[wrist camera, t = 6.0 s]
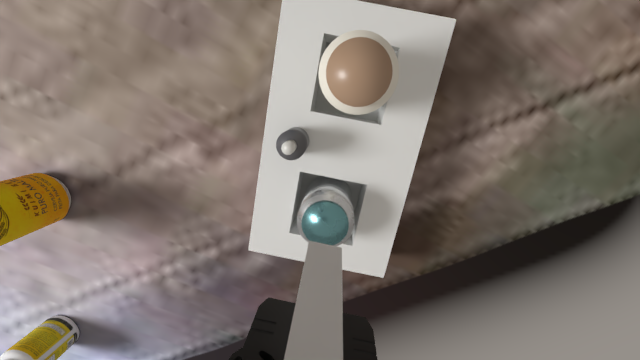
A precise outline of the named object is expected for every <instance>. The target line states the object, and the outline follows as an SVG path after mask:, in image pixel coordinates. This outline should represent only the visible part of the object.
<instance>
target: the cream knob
mask: <svg viewBox="0 0 640 360" xmlns="http://www.w3.org/2000/svg"><path fill="white" fill-rule="evenodd" d="M398 78H399V63H398V59H397V56H396V53H395V51H394V49H393V48H392V46H391V45H390V44H389V43H388V41H387V40H385V39H384V38H383V37H382V36H380V35H378V34H376V33H374V32H371V31H367V30H354V31H350V32H346V33H344V34H342V35H340V36H339V37H337V38H336V39H335V40H333V41H332V42H331V43H330V45H329V46H328V47H327V48H326V50H325V52H324V53H323V55H322V58H321V61H320V65H319V83H320V87H321V90H322V92H323V94H324V96H325V98H326V99H327V100H328V102H329V103H330V104H331V105H332V106H334V107H335V108H336V109H338V110H340V111H342V112H344V113H348V114H353V115H361V114H367V113H370V112H373V111H375V110H377V109H378V108H380V107H381V106H383V105H384V104H385V103H386V102H387V101H388V100H389V98H390V97H391V96H392V94H393V93H394V91H395V88H396V86H397V83H398Z"/></svg>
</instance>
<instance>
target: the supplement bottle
mask: <svg viewBox="0 0 640 360" xmlns="http://www.w3.org/2000/svg"><path fill="white" fill-rule="evenodd" d="M78 338H79V329H78V327H77V325H76V324H75V323H74V322H73V321H72V320H71V319H69V318H67V317H65V316H53V317H51V318H49V319H47V320H46V321H45V322H44V323H42V324H41V325H40V326H38V327H37V328H36V329H34V330H33V331H32V332H30V333H29V334H28V335H27V336H25V337H24V338H23V339H21V340H20V341H19V342H17V343H16V344H15V345H13V346H12V347H11V348H9V349H8V350H7V351H5V352H4V353H3V354H2V355H1V357H0V360H57V359H58V358H59V357H60V356H61V355H62V354H63V353H64V352H65V351H66V350H67V349H68V348H69V347H71V346H72V345H73V344H74V343H75V342H76V341H77V340H78Z"/></svg>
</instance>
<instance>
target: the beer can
mask: <svg viewBox="0 0 640 360" xmlns="http://www.w3.org/2000/svg"><path fill="white" fill-rule="evenodd" d="M70 205H71V196H70V193H69V191H68V189H67V187H66V186H65V185H64V184H63V183H62V182H61V181H60V180H58V179H56V178H54V177H51V176H49V175H46V174H43V173H33V174H29V175H25V176H21V177H17V178H12V179H8V180H4V181H0V246H1V245H4V244H6V243H8V242H11V241H13V240H15V239H17V238H20V237H22V236H24V235H27V234H29V233H31V232H34V231H36V230H38V229H41V228H43V227H45V226H48V225H50V224H52V223H55V222H57V221H59V220H61V219H63V218H64V217H65V216H66V215H67V213H68V210H69V208H70Z"/></svg>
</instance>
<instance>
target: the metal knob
mask: <svg viewBox="0 0 640 360" xmlns="http://www.w3.org/2000/svg"><path fill="white" fill-rule="evenodd" d="M297 227H298V230H299V232H300V234H301V236H302V237H303V238H304V239H305V240H306V241H307V242H308V243H309V241H313V242H318V243H323V244H327V245H332V246H339V245H341V244H343V243H344V242H345V241H346V240H347V239H348V238H349V237H350V235H351V234H352V232H353V229H354V213H353V204H352V195H351V190H350V187H349V186H348V184H347V183H346V182H345V181H344V180H340V179H335V178H330V177H325V176H319V177H317V178H315V179H314V180H313V181H312V182H311V183H310V184H309V186H308V188H307V190H306V193H305V196H304V198H303V201H302V203H301V206H300V209H299V211H298V215H297Z"/></svg>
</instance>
